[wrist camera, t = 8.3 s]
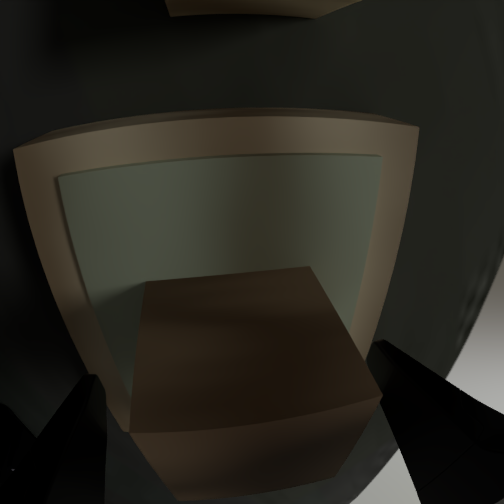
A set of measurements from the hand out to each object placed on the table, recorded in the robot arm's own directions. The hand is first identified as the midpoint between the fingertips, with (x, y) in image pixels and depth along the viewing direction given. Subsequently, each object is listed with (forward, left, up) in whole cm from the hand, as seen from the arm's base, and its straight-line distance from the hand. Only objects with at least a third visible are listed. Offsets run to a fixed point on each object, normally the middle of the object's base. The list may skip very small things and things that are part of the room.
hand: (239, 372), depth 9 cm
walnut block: (0, 0, -2) cm, 2 cm away
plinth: (0, 0, -5) cm, 5 cm away
